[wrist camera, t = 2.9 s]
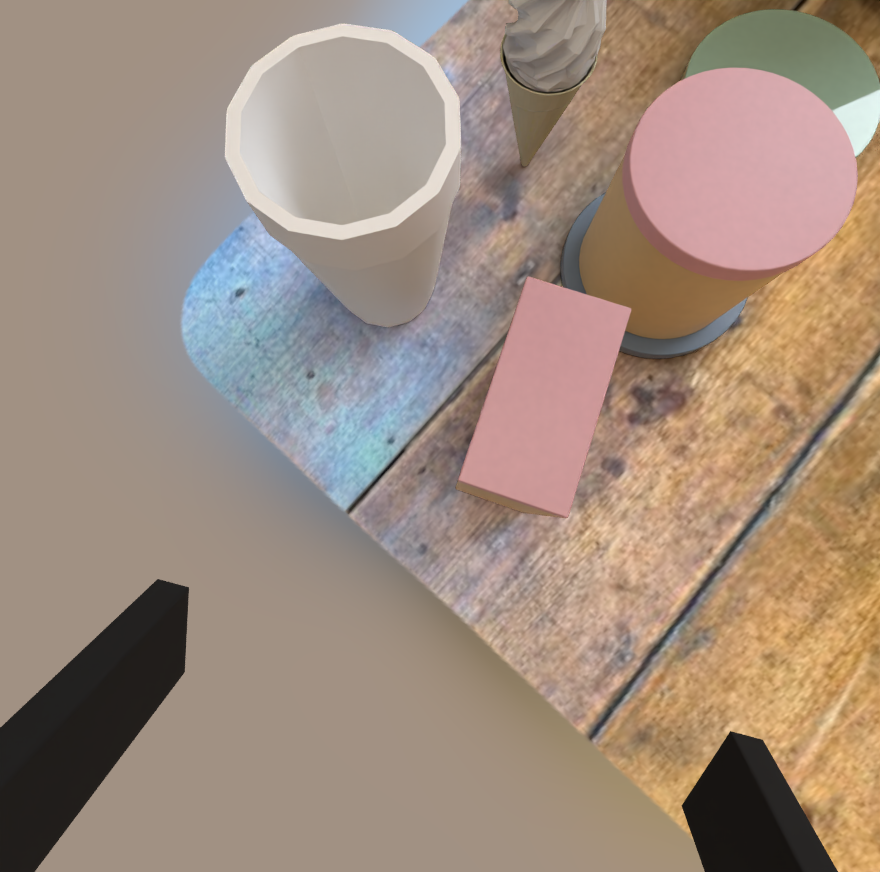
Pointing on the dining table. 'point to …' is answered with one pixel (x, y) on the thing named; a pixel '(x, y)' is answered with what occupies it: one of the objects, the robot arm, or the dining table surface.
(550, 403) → the cake slice
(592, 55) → the ice cream cone
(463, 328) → the dining table surface
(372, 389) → the dining table surface
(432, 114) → the foam cup
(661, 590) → the dining table surface
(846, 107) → the plate
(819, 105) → the cake
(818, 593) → the dining table surface
